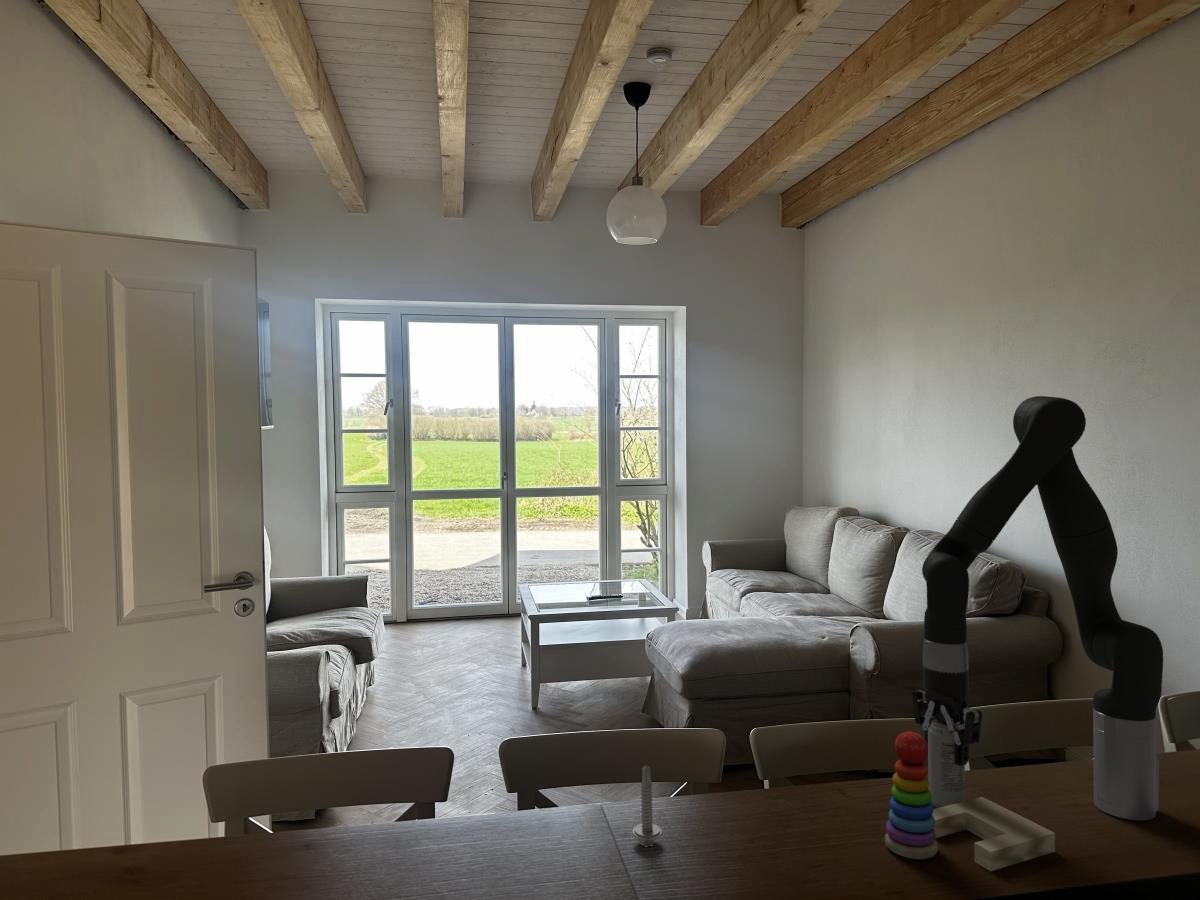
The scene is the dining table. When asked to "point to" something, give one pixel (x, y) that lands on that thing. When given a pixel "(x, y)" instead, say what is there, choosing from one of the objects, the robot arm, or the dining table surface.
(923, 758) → the stacking toy
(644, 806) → the screw
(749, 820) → the dining table surface
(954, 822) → the notched board
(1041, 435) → the robot arm
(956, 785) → the energy drink can
